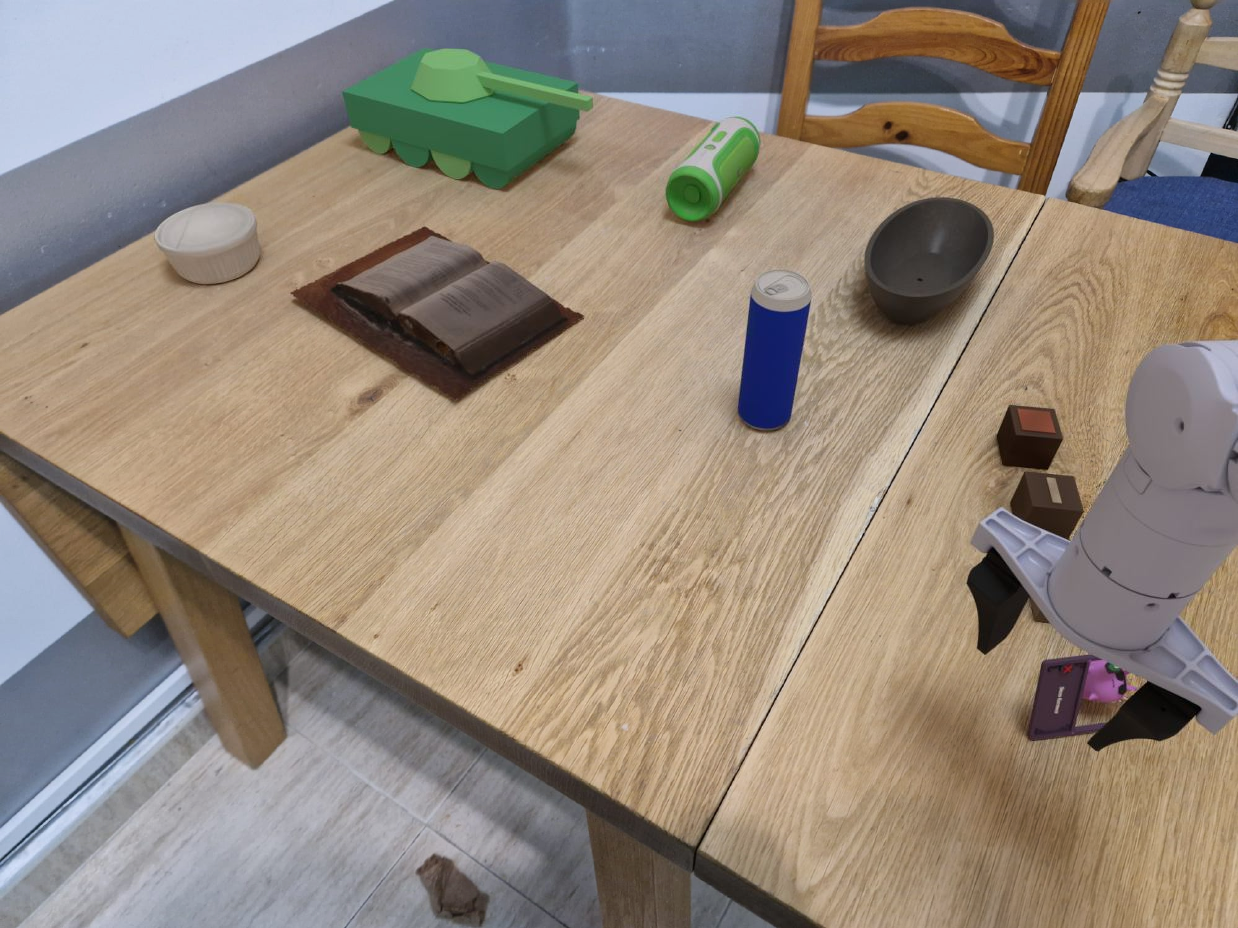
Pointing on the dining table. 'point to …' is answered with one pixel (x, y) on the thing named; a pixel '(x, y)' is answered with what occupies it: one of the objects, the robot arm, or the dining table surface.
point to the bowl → (926, 257)
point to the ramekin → (210, 242)
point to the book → (439, 309)
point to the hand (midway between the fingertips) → (1044, 688)
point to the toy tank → (465, 114)
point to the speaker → (713, 169)
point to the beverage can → (773, 348)
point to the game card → (1073, 694)
